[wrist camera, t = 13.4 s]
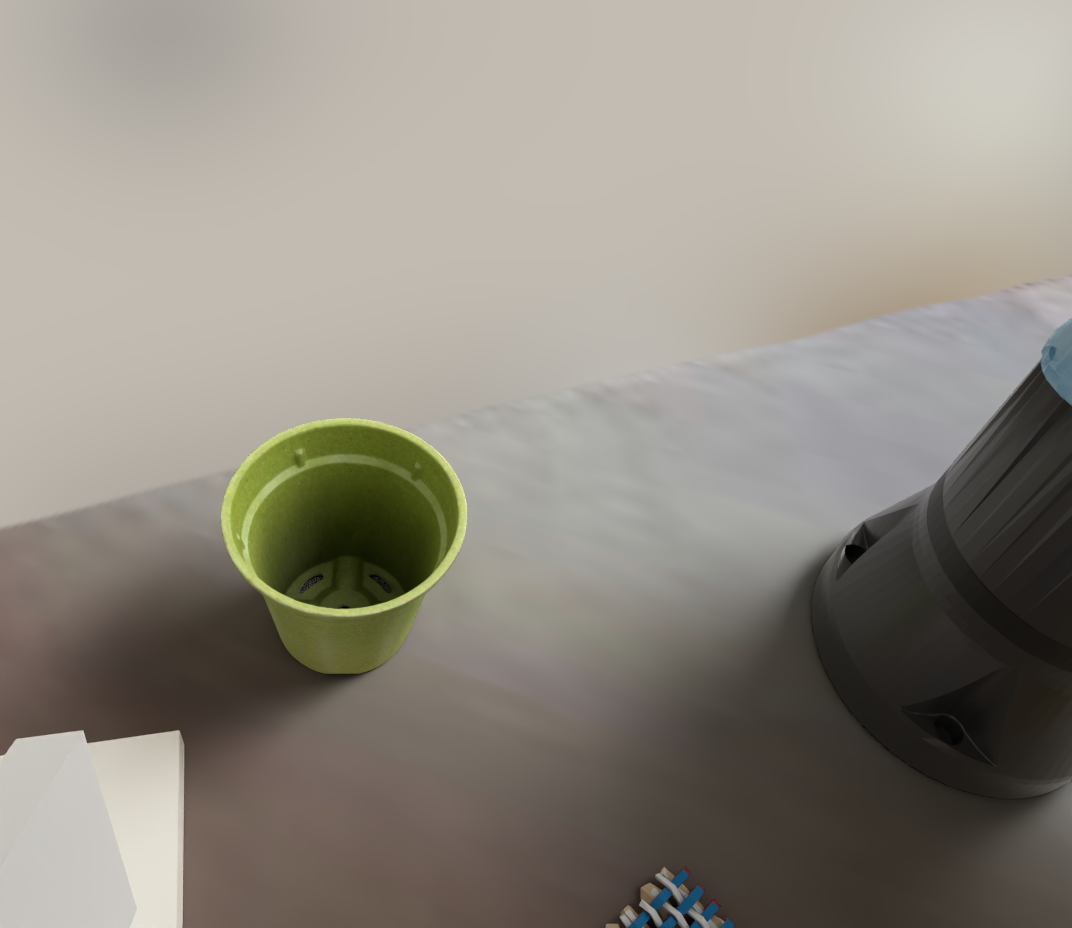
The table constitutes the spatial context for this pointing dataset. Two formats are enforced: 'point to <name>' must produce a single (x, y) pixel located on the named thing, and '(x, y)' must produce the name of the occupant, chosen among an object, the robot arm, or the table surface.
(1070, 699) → the robot arm
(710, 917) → the woven mat
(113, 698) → the table surface
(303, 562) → the plant pot
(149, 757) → the dial board
